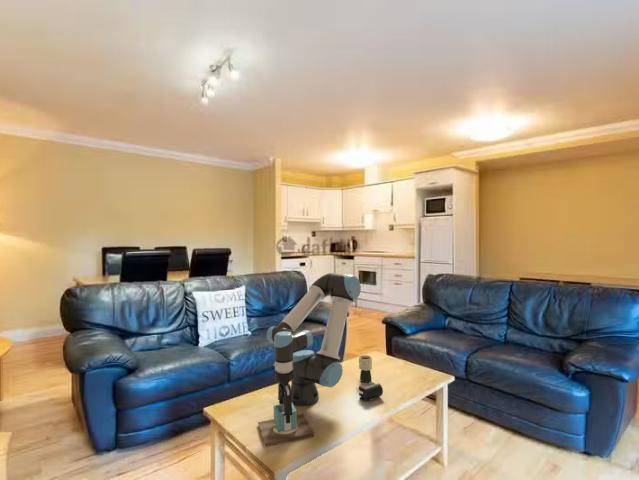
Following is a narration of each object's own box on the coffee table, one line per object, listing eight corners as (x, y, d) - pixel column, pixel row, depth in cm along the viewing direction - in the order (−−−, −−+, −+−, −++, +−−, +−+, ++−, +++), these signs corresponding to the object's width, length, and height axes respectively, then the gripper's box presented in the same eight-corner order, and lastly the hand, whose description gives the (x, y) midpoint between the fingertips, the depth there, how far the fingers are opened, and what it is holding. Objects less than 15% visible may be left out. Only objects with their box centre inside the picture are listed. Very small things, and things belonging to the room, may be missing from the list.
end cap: (367, 404, 169) (367, 390, 169) (358, 398, 175) (358, 385, 175) (383, 398, 175) (383, 385, 174) (373, 393, 181) (373, 380, 180)
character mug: (366, 375, 202) (365, 353, 202) (376, 379, 198) (376, 356, 197) (354, 382, 194) (354, 358, 194) (365, 385, 190) (364, 361, 189)
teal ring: (273, 421, 150) (273, 405, 150) (292, 418, 153) (291, 402, 153) (277, 431, 143) (277, 414, 143) (297, 428, 145) (296, 411, 145)
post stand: (258, 425, 152) (257, 402, 152) (303, 417, 159) (302, 394, 158) (264, 446, 137) (264, 421, 137) (314, 436, 144) (313, 411, 143)
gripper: (270, 362, 156) (271, 414, 157) (280, 381, 136) (281, 439, 137) (287, 360, 158) (288, 410, 159) (299, 378, 139) (300, 435, 139)
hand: (285, 424), depth 148 cm, fingers closed on teal ring, 8 cm apart
